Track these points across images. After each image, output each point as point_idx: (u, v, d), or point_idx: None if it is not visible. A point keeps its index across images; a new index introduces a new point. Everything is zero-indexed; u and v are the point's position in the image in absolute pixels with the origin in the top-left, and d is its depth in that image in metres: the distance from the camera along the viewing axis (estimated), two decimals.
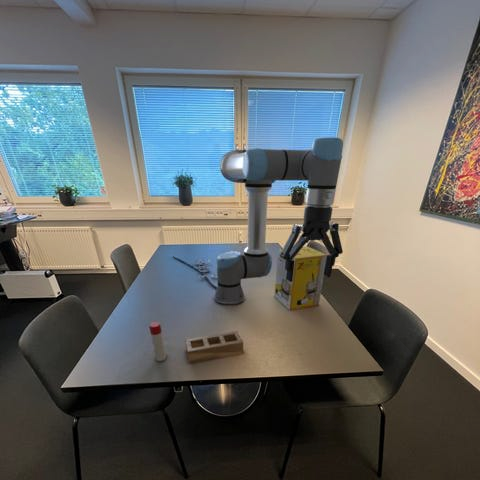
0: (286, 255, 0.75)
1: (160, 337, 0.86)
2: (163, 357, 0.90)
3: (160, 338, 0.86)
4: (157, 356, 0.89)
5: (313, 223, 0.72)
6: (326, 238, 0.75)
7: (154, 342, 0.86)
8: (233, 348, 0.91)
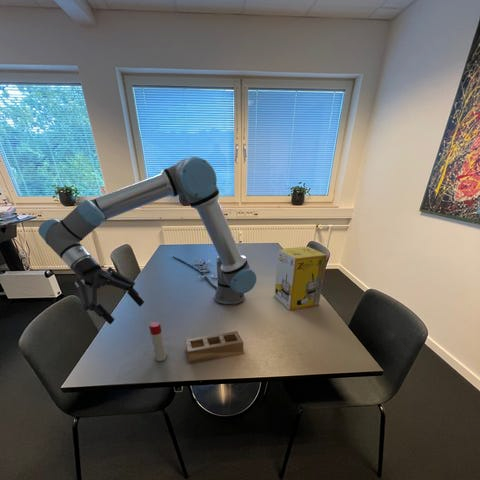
0: (87, 303, 0.78)
1: (160, 337, 0.86)
2: (163, 357, 0.90)
3: (160, 338, 0.86)
4: (157, 356, 0.89)
5: (89, 273, 0.83)
6: (110, 278, 0.87)
7: (154, 342, 0.86)
8: (233, 348, 0.91)
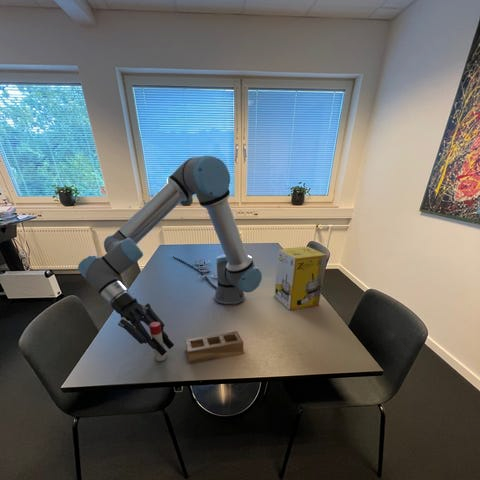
0: (143, 337, 0.82)
1: (160, 337, 0.86)
2: (163, 357, 0.90)
3: (160, 338, 0.86)
4: (157, 356, 0.89)
5: (126, 308, 0.83)
6: (145, 314, 0.86)
7: None
8: (233, 348, 0.91)
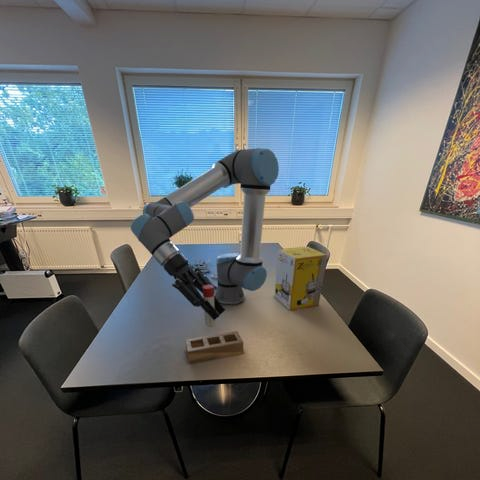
0: (197, 299, 0.79)
1: (213, 300, 0.83)
2: (213, 323, 0.87)
3: (213, 302, 0.83)
4: (208, 321, 0.86)
5: (179, 270, 0.81)
6: (196, 277, 0.83)
7: None
8: (233, 348, 0.91)
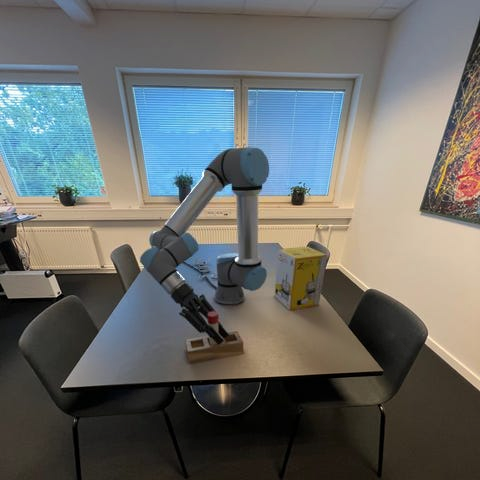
0: (202, 326, 0.84)
1: (217, 326, 0.88)
2: None
3: (217, 327, 0.88)
4: None
5: (186, 298, 0.86)
6: (201, 304, 0.89)
7: None
8: (233, 348, 0.91)
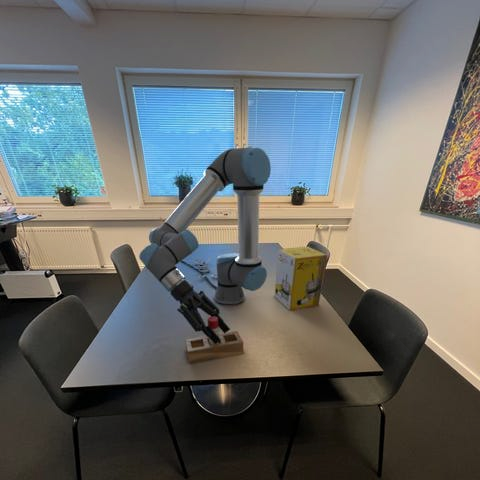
0: (199, 325, 0.83)
1: (217, 331, 0.89)
2: None
3: (217, 332, 0.89)
4: None
5: (185, 295, 0.85)
6: (202, 301, 0.88)
7: None
8: (233, 348, 0.91)
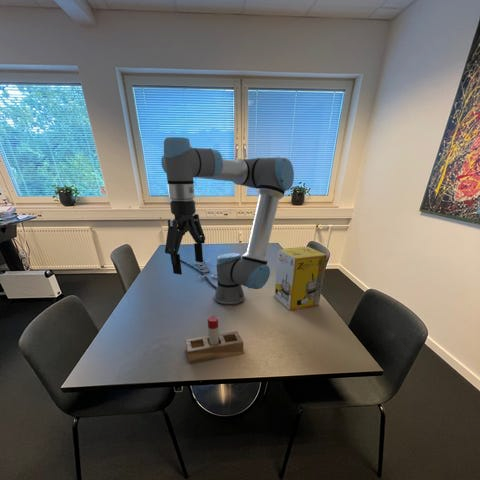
0: (173, 250, 0.77)
1: (217, 331, 0.89)
2: None
3: (217, 332, 0.89)
4: None
5: (183, 216, 0.79)
6: (194, 228, 0.84)
7: (211, 336, 0.89)
8: (233, 348, 0.91)
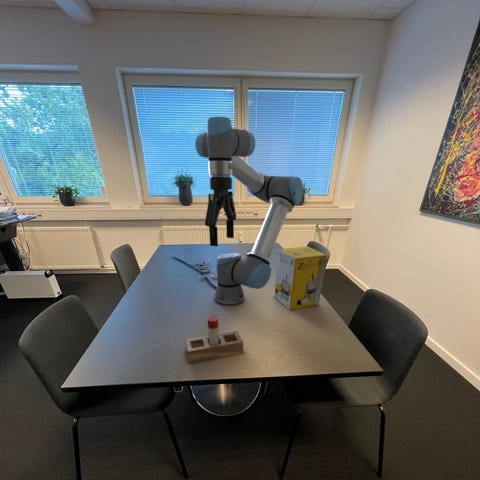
0: (212, 222, 0.84)
1: (217, 331, 0.89)
2: None
3: (217, 332, 0.89)
4: None
5: (221, 191, 0.86)
6: (229, 204, 0.91)
7: (211, 336, 0.89)
8: (233, 348, 0.91)
